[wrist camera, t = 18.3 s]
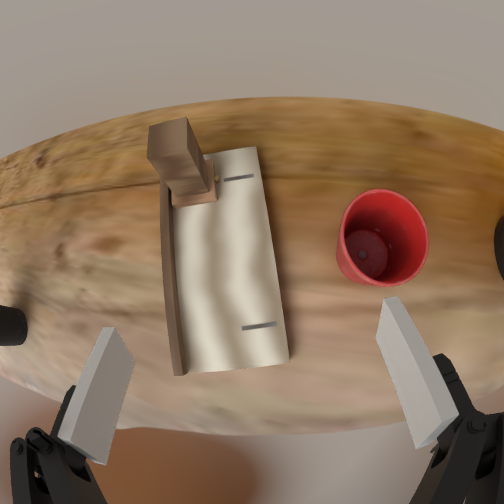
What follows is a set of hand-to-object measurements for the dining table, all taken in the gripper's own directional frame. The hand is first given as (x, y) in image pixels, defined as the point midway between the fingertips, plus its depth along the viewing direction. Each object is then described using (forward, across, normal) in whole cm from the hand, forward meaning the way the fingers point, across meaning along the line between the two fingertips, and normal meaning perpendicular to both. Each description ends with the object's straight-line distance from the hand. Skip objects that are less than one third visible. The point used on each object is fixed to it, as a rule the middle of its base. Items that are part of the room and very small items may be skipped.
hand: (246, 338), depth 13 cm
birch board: (+24, -5, -9) cm, 26 cm away
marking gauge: (+29, -8, 0) cm, 30 cm away
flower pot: (+22, +14, -11) cm, 29 cm away
